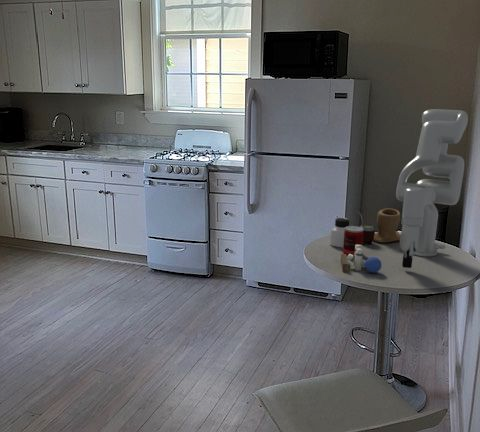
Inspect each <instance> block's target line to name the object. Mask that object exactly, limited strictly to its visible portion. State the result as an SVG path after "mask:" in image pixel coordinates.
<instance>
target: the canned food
mask: <svg viewBox="0 0 480 432" xmlns="http://www.w3.org/2000/svg"><path fill="white" fill-rule="evenodd" d="M362 241H363V228H361V227H360V226H356V225H349V226H347V227H345V231H344V243H343V248H342V254H346V256H348V255H349V254H352V255H355V245H362V246H363V243H362Z"/></svg>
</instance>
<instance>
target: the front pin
mask: <svg viewBox="0 0 480 432" xmlns="http://www.w3.org/2000/svg"><path fill="white" fill-rule="evenodd" d="M347 260H348V261H350V262H352V263H353V264H354V263H355V260H356V256H354V255H352V254H349V255H347ZM365 262H366V260H365V259H362V265H361V267H363V268H365V269H366V267H365Z"/></svg>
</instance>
